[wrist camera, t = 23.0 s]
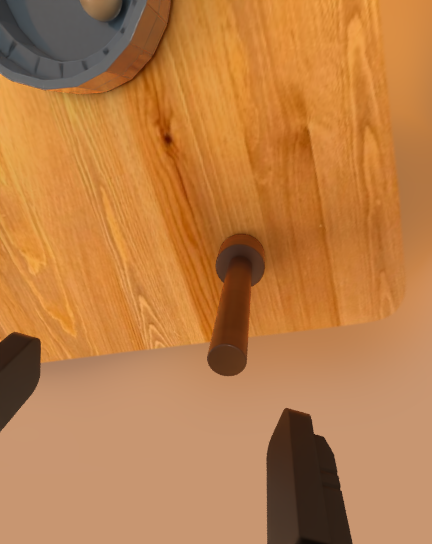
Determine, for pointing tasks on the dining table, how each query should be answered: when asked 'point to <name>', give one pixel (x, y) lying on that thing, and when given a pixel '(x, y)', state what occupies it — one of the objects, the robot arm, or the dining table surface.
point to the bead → (102, 9)
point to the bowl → (77, 43)
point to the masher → (235, 302)
